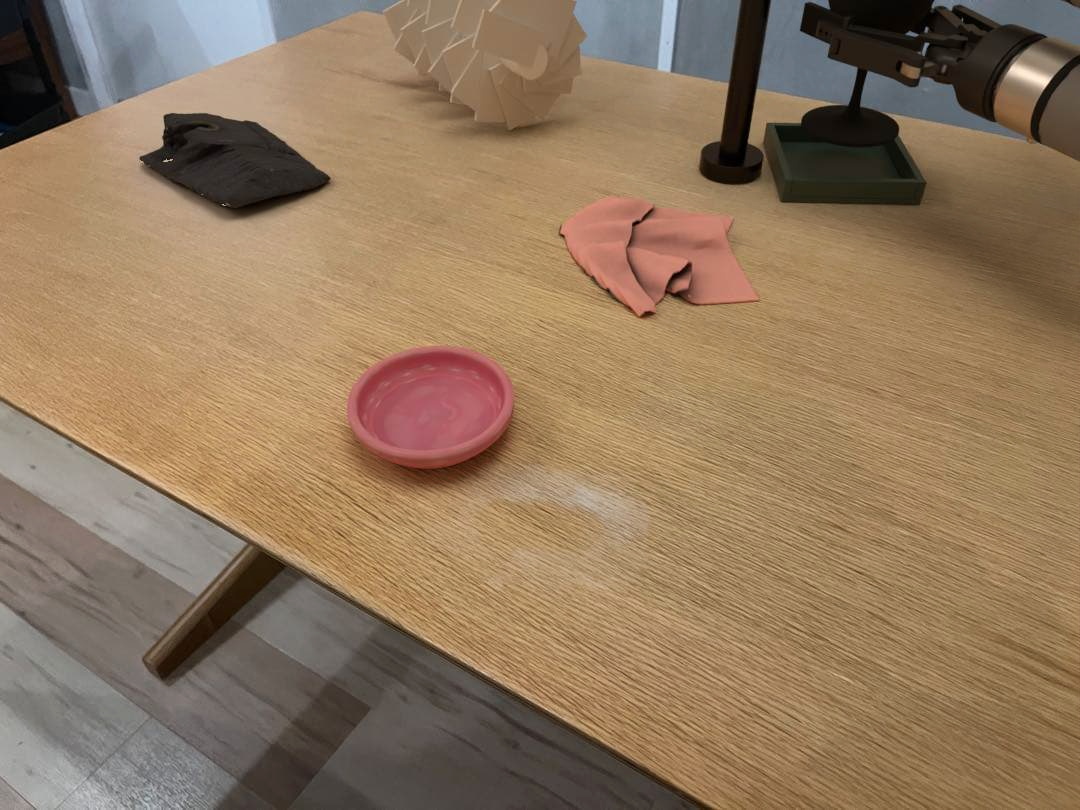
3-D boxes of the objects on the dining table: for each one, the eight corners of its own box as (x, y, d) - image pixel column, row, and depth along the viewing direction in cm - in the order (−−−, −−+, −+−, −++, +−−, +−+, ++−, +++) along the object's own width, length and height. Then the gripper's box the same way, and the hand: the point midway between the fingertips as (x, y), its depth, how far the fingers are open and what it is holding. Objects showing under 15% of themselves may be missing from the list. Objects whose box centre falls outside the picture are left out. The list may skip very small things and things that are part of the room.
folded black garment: (214, 231, 85) (201, 189, 82) (134, 161, 98) (120, 122, 94) (342, 184, 93) (334, 144, 89) (253, 124, 105) (243, 87, 102)
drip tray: (886, 145, 98) (892, 124, 97) (919, 204, 88) (927, 182, 86) (762, 143, 99) (766, 122, 97) (780, 202, 88) (785, 179, 87)
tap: (787, 157, 96) (858, -201, 73) (796, 185, 91) (877, -191, 68) (696, 156, 97) (740, -200, 74) (701, 183, 92) (749, -190, 69)
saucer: (534, 464, 60) (534, 433, 58) (364, 502, 57) (357, 471, 55) (493, 361, 69) (491, 331, 67) (344, 391, 66) (337, 360, 64)
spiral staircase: (476, 97, 121) (567, 152, 104) (366, 65, 110) (448, 121, 93) (516, -35, 113) (621, 1, 97) (402, -84, 103) (498, -52, 86)
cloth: (595, 189, 91) (596, 169, 89) (793, 232, 84) (798, 211, 82) (510, 283, 77) (509, 261, 76) (737, 344, 70) (741, 321, 69)
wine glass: (919, 129, 89) (981, -81, 76) (859, 157, 84) (914, -62, 71) (840, 100, 95) (884, -98, 82) (780, 124, 91) (817, -82, 77)
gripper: (914, 148, 69) (751, 63, 84) (1090, 101, 77) (911, 30, 92) (942, 58, 64) (764, -16, 79) (1128, 16, 71) (932, -44, 86)
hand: (842, 9), depth 85 cm, fingers closed on wine glass, 9 cm apart
